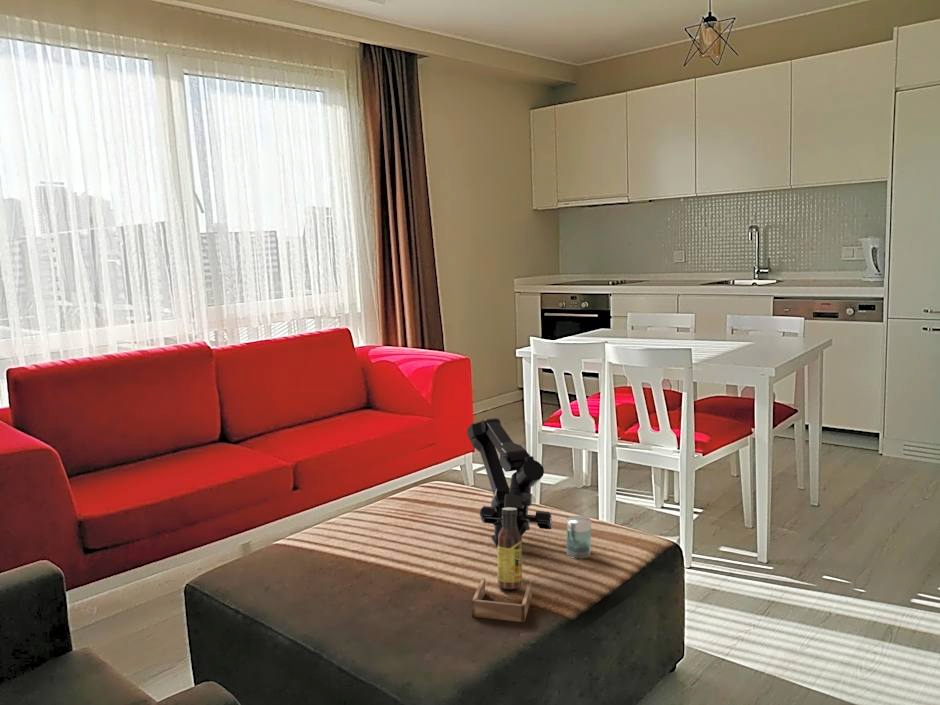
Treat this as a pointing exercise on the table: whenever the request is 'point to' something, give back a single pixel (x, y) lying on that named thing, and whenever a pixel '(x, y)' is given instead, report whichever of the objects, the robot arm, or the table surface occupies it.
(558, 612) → the table surface
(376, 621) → the table surface
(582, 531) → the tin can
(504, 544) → the sauce bottle
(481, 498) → the table surface
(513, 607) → the crate
